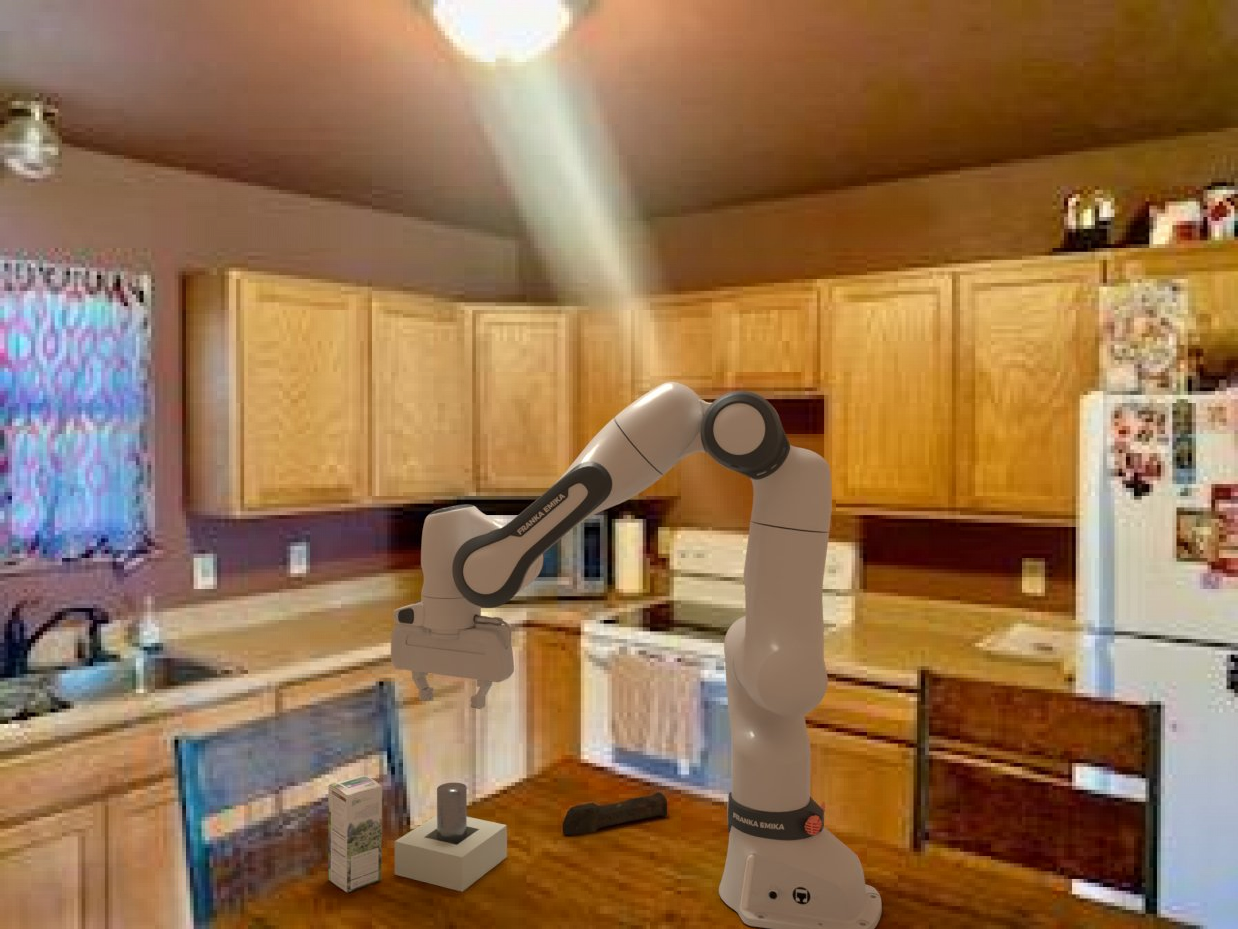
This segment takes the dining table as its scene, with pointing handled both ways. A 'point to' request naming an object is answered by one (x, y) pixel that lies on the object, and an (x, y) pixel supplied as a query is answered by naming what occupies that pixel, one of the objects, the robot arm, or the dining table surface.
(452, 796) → the pin
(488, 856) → the frame
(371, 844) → the syrup box
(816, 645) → the robot arm
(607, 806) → the hand tool
